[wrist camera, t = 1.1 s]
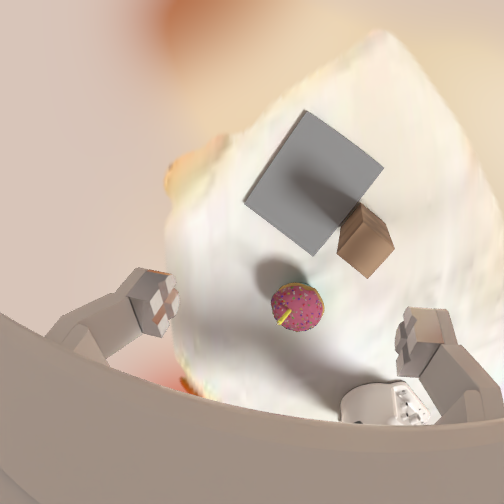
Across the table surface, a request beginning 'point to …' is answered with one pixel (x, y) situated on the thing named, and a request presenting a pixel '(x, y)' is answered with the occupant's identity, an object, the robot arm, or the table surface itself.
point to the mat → (313, 183)
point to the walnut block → (364, 241)
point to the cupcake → (297, 306)
